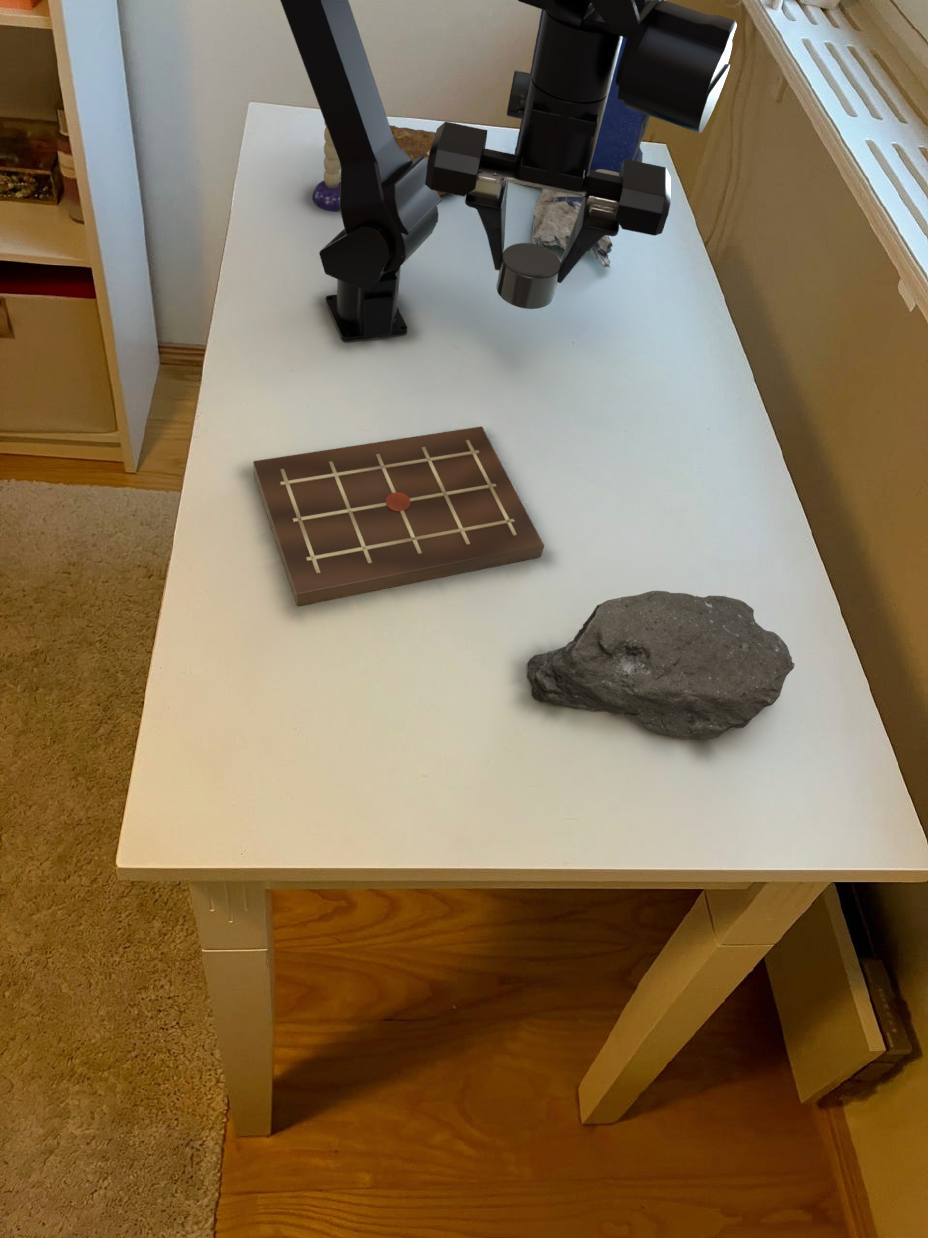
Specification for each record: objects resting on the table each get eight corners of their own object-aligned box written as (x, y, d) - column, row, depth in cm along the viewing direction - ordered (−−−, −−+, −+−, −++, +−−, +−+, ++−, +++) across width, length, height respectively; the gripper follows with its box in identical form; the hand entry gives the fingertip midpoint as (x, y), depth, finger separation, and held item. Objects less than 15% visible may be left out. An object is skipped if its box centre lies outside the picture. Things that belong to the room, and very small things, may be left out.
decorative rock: (328, 188, 106) (462, 215, 107) (330, 152, 102) (468, 182, 103) (345, 131, 112) (471, 158, 113) (347, 96, 109) (477, 125, 110)
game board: (253, 473, 78) (252, 459, 77) (479, 438, 85) (482, 424, 83) (297, 606, 71) (297, 593, 70) (541, 557, 77) (545, 544, 76)
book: (633, 196, 112) (690, 8, 97) (626, 218, 109) (684, 28, 93) (516, 161, 113) (554, -30, 97) (505, 183, 110) (543, -12, 94)
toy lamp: (349, 216, 102) (356, 50, 89) (305, 210, 102) (305, 42, 89) (353, 192, 105) (361, 28, 92) (311, 186, 105) (312, 20, 91)
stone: (548, 752, 64) (568, 610, 61) (516, 698, 72) (532, 570, 69) (796, 751, 68) (827, 618, 64) (739, 700, 76) (764, 579, 73)
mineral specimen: (531, 192, 110) (539, 157, 107) (602, 204, 111) (612, 169, 107) (529, 266, 101) (538, 230, 98) (607, 278, 102) (618, 243, 99)
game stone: (487, 276, 82) (493, 244, 80) (540, 271, 84) (547, 240, 82) (508, 312, 80) (514, 280, 77) (562, 306, 81) (570, 275, 79)
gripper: (695, 61, 74) (638, 243, 87) (458, 11, 74) (435, 201, 86) (697, 130, 67) (635, 317, 80) (436, 75, 67) (414, 272, 79)
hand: (528, 273), depth 81 cm, fingers closed on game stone, 5 cm apart
